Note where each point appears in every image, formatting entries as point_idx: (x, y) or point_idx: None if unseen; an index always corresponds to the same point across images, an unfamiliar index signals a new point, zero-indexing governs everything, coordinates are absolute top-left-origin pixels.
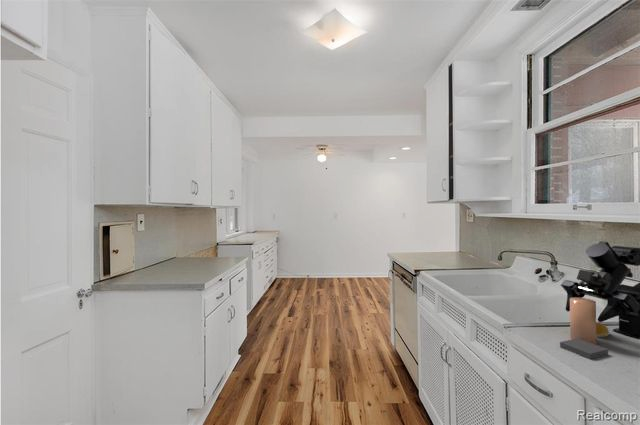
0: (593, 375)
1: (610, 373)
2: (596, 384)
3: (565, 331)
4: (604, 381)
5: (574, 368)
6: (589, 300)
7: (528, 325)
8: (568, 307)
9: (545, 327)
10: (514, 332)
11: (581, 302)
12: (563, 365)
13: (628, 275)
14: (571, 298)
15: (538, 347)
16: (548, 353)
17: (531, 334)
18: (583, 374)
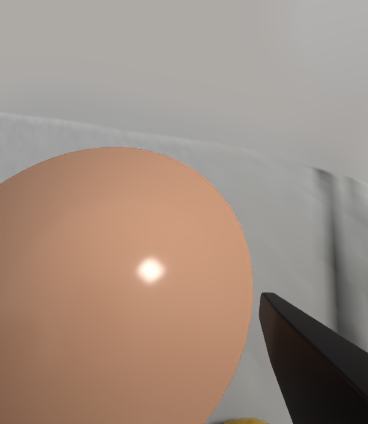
0: (28, 137)
1: (5, 173)
2: (13, 117)
3: (263, 356)
4: (6, 135)
5: (64, 130)
6: (7, 381)
7: (343, 248)
8: (269, 310)
9: (320, 302)
10: (273, 156)
11: (46, 160)
12: (83, 123)
13: None
14: (208, 205)
15: (168, 141)
16: (134, 137)
17: (251, 188)
18: (42, 126)
